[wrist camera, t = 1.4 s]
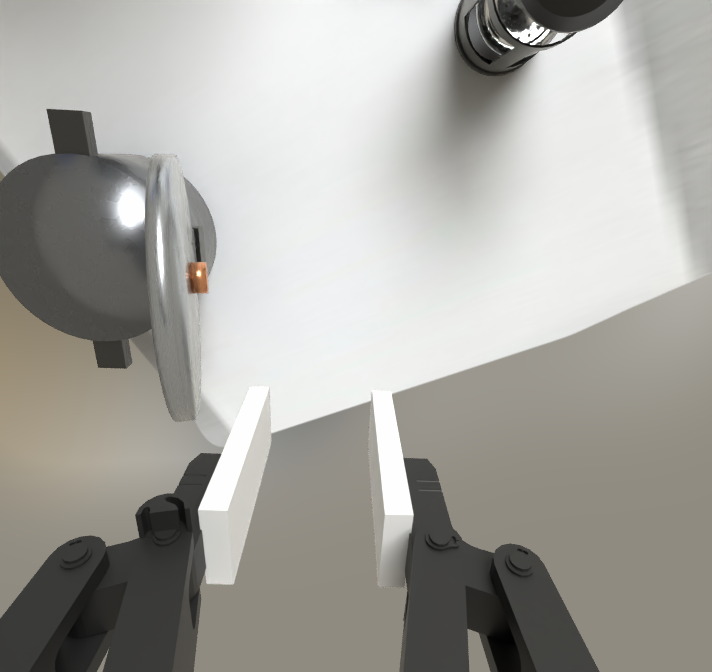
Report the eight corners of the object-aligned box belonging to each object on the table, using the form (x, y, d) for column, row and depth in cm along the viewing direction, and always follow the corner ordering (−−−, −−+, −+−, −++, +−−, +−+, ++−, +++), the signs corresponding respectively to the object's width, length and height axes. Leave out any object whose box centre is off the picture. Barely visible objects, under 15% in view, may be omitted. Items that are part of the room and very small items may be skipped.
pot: (42, 115, 47) (-51, 102, 36) (224, 125, 48) (187, 116, 37) (85, 327, 57) (22, 368, 46) (236, 333, 58) (210, 375, 47)
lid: (124, 155, 20) (182, 158, 21) (170, 153, 38) (200, 154, 39) (171, 480, 27) (213, 474, 28) (191, 350, 45) (216, 348, 46)
